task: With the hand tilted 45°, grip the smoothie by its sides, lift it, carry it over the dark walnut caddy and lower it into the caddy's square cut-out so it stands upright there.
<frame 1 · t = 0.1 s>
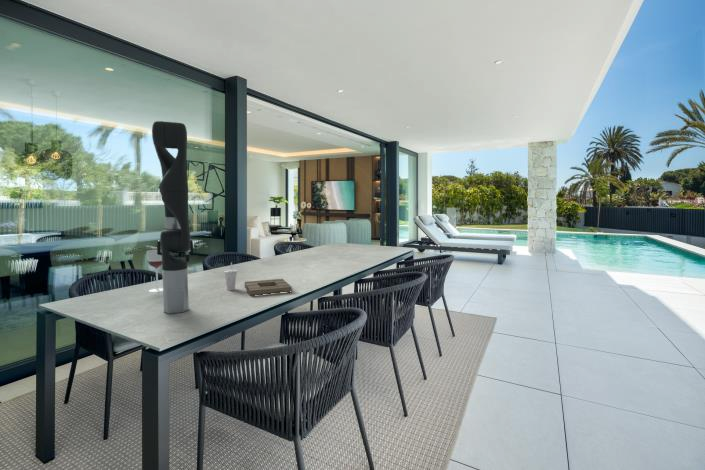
hand: (176, 263, 157), 17 cm above the table, tool pointing down, fingers open, 8 cm apart
caddy: (267, 289, 182), on the table
wineglass: (157, 290, 179), on the table
smoothie: (231, 289, 182), on the table
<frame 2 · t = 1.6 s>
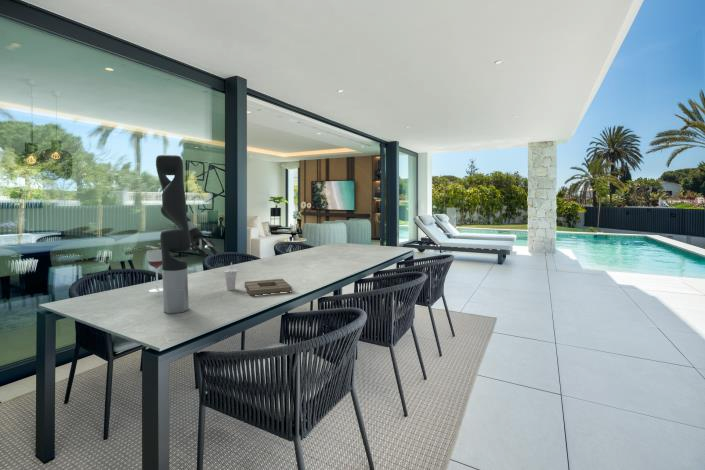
hand: (210, 254, 184), 17 cm above the table, tool tilted 45°, fingers open, 8 cm apart
nothing on the table moved.
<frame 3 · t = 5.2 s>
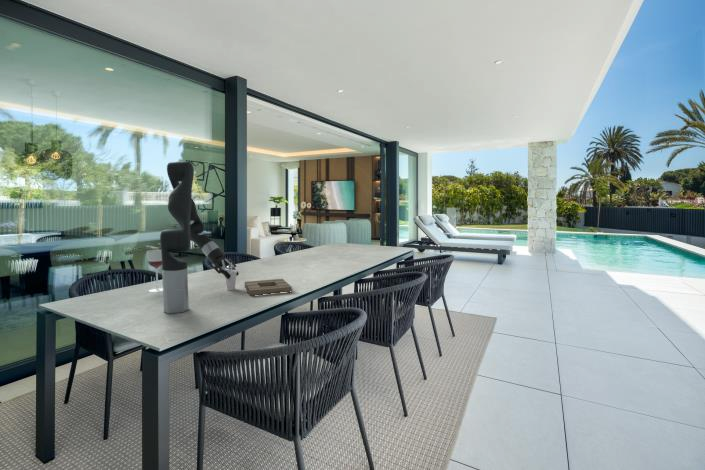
hand: (233, 276, 181), 7 cm above the table, tool tilted 45°, fingers closed on smoothie, 6 cm apart
smoothie: (231, 289, 182), on the table, touching gripper
everything else where it was.
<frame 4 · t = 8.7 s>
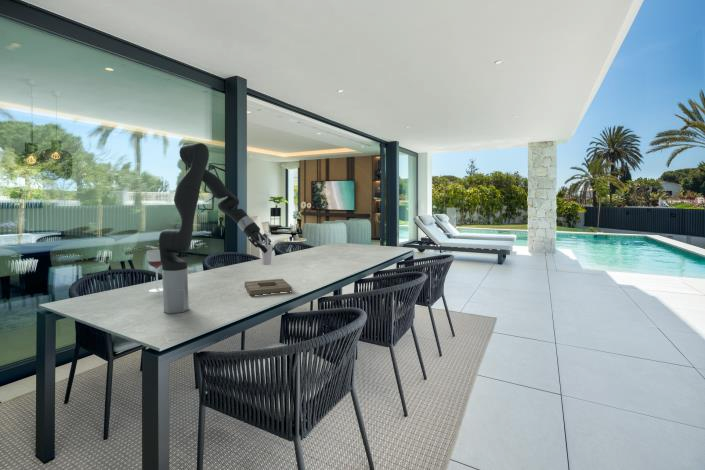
hand: (269, 250, 179), 20 cm above the table, tool tilted 45°, fingers closed on smoothie, 6 cm apart
smoothie: (266, 264, 180), point 13 cm above the table, touching gripper
everything else where it was.
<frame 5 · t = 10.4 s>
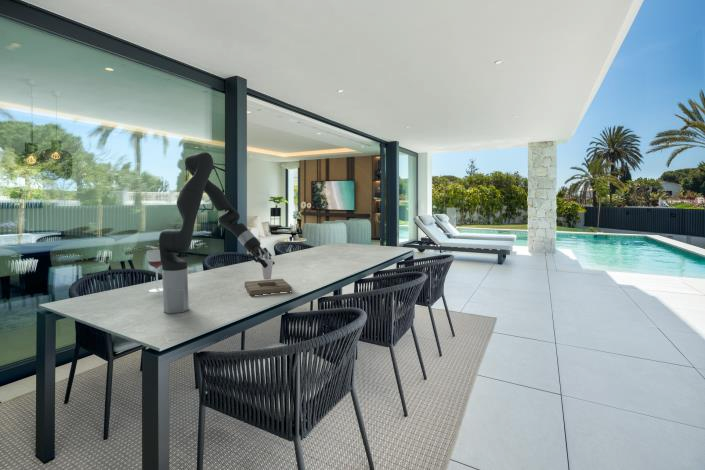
hand: (270, 265, 180), 13 cm above the table, tool tilted 45°, fingers closed on smoothie, 6 cm apart
smoothie: (267, 279, 181), point 6 cm above the table, touching gripper
everything else where it was.
when the fingers open (8 cm above the table, at t = 12.1 s): smoothie drops 1 cm, resting in caddy.
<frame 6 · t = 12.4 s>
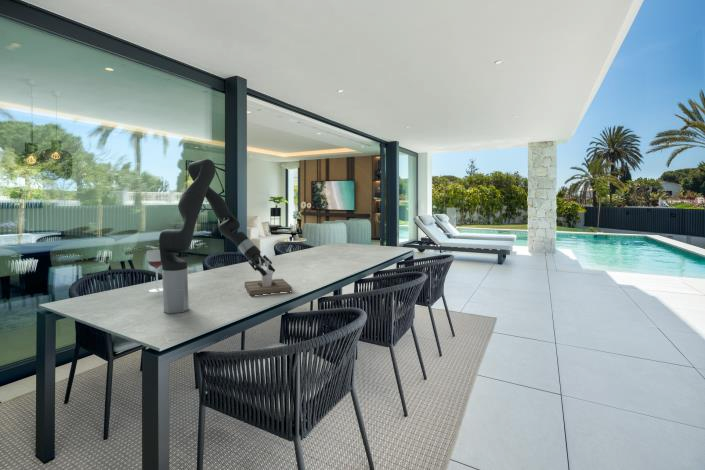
hand: (269, 273, 180), 9 cm above the table, tool tilted 45°, fingers open, 8 cm apart
smoothie: (267, 290, 182), resting in caddy
everything else where it was.
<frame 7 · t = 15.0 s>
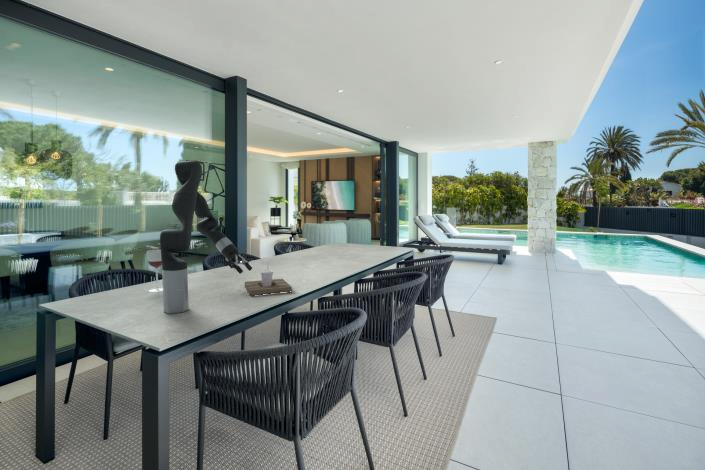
hand: (246, 271, 184), 9 cm above the table, tool tilted 45°, fingers open, 8 cm apart
nothing on the table moved.
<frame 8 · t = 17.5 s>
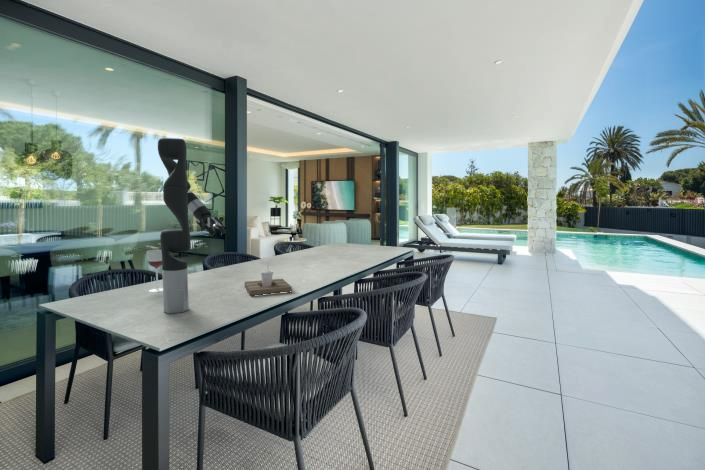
hand: (219, 233, 178), 29 cm above the table, tool tilted 45°, fingers open, 8 cm apart
nothing on the table moved.
at the end: smoothie 0.3 cm off-centre on the caddy, point 0.0 cm above the caddy's base; smoothie tilted 0°; the gripper is holding nothing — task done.
